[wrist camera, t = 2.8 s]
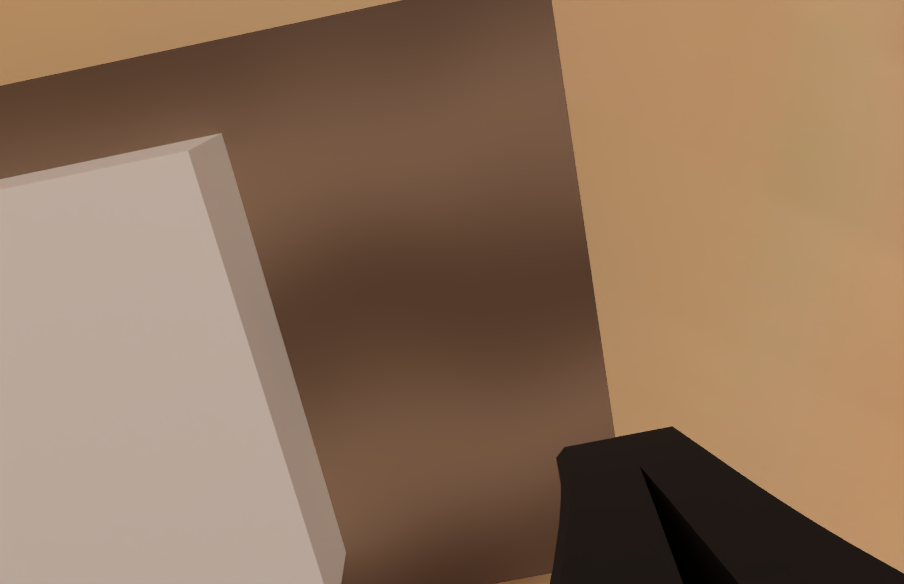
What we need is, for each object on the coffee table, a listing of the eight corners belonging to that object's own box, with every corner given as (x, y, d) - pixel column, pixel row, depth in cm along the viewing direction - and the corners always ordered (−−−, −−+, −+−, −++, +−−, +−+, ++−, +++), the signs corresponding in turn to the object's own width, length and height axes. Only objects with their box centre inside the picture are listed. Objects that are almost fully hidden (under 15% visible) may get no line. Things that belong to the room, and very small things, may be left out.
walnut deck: (594, 459, 20) (632, 557, 17) (-54, 582, 21) (-159, 704, 17) (519, -18, 16) (546, -31, 13) (-276, 151, 17) (-476, 187, 13)
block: (346, 552, 16) (335, 621, 14) (74, 603, 16) (29, 678, 15) (221, 133, 13) (188, 150, 11) (-107, 201, 14) (-194, 230, 12)
